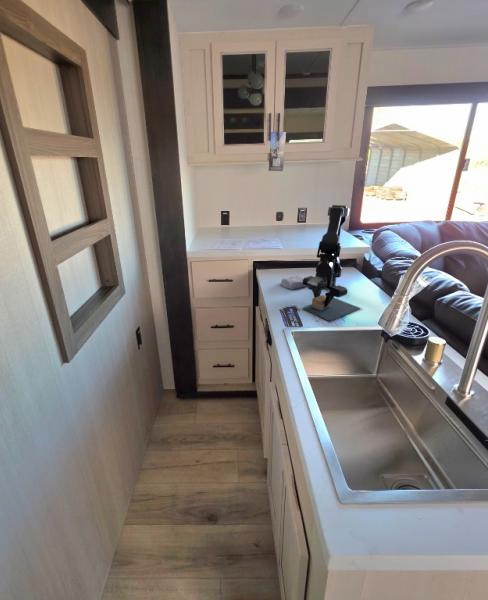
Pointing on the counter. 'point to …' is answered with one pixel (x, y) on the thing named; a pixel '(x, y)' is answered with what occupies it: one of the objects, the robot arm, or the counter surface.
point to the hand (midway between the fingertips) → (321, 304)
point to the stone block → (293, 282)
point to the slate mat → (333, 310)
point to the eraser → (320, 302)
